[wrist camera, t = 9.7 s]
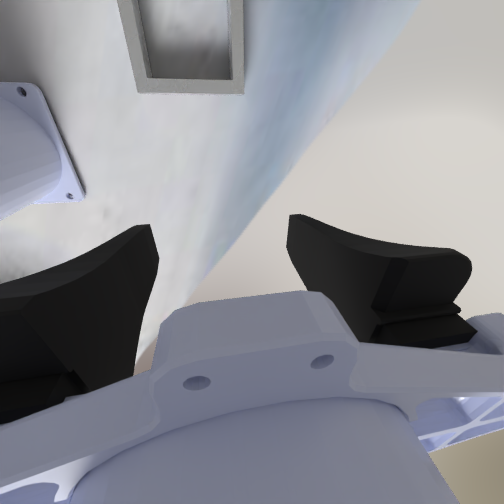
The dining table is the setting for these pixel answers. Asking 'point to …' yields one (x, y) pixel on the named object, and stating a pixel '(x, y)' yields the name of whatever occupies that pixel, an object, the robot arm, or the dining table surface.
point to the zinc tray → (183, 86)
